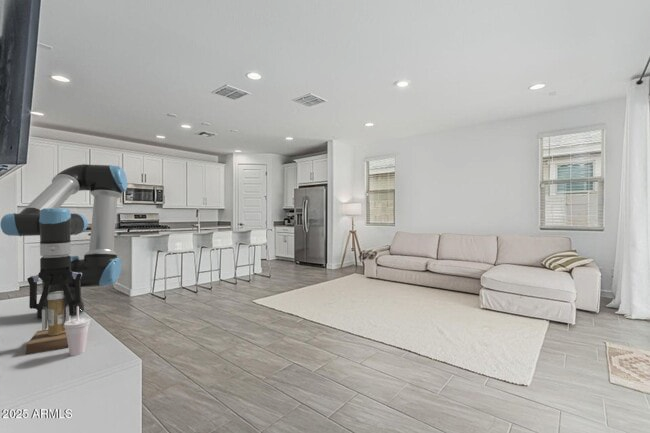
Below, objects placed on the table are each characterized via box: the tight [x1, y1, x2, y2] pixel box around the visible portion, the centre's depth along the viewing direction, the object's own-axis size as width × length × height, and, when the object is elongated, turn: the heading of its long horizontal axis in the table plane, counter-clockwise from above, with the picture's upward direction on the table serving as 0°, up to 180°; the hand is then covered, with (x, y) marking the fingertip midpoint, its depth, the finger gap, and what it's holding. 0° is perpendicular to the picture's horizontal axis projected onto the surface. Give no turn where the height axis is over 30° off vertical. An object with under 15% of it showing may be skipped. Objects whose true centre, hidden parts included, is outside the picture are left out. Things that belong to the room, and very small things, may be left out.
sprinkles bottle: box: [47, 291, 66, 336], centre depth 102 cm, size 5×5×14 cm
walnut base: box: [25, 329, 68, 355], centre depth 102 cm, size 12×12×3 cm
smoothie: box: [63, 306, 91, 357], centre depth 95 cm, size 6×6×14 cm
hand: (56, 326), depth 102 cm, fingers open, 5 cm apart
